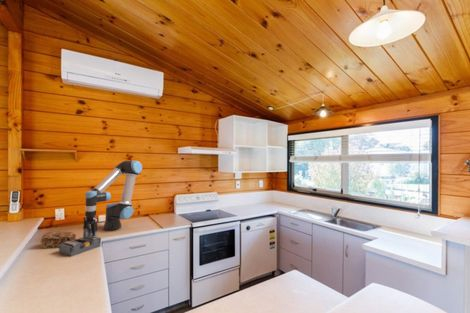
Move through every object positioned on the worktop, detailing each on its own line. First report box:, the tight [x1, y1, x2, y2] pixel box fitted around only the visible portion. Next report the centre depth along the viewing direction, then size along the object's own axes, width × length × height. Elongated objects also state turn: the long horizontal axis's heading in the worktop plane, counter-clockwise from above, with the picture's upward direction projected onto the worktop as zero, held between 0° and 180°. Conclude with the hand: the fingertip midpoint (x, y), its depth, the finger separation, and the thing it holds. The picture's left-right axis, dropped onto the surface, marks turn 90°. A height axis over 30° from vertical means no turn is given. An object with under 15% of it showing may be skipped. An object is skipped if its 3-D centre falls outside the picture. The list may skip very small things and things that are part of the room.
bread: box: [40, 231, 77, 249], centre depth 174 cm, size 19×11×10 cm, turn 104°
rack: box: [58, 235, 102, 257], centre depth 167 cm, size 21×14×7 cm, turn 157°
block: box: [82, 226, 98, 238], centre depth 187 cm, size 9×3×10 cm, turn 157°
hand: (89, 239), depth 187 cm, fingers open, 6 cm apart
